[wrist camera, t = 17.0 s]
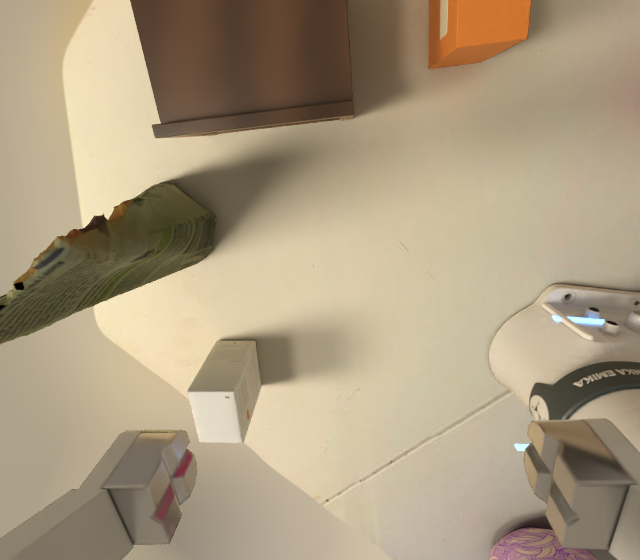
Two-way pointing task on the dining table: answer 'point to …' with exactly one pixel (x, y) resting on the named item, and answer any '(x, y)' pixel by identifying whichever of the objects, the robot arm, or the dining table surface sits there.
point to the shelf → (245, 63)
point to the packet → (474, 29)
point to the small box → (226, 392)
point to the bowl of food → (535, 547)
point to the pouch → (109, 259)
